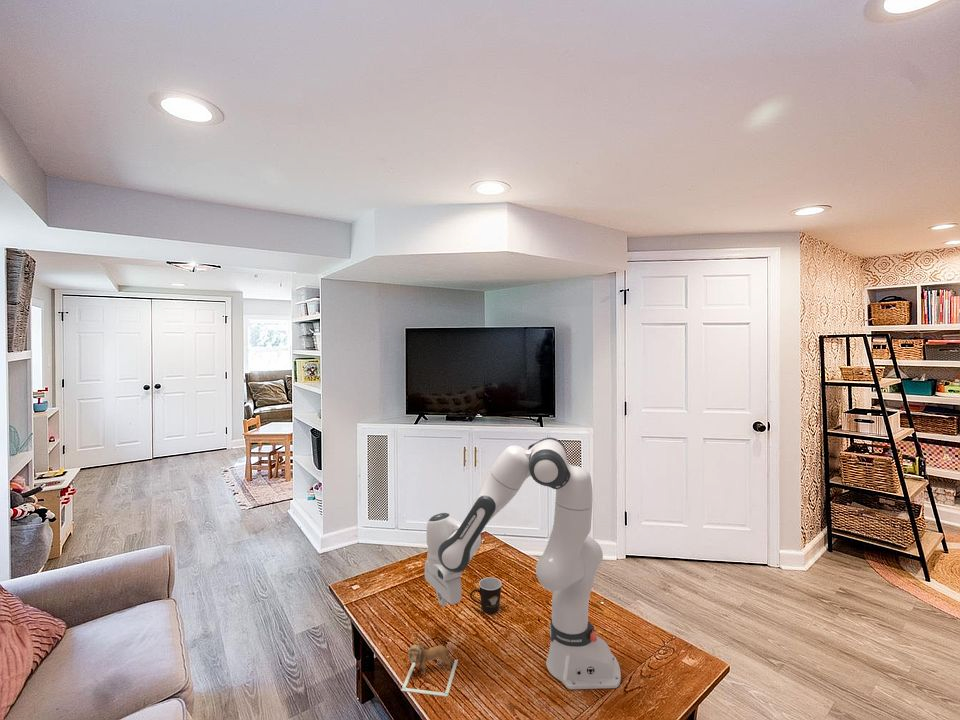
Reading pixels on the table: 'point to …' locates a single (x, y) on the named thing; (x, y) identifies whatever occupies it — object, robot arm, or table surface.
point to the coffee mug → (489, 594)
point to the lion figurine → (428, 655)
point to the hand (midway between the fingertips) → (442, 604)
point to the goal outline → (425, 690)
